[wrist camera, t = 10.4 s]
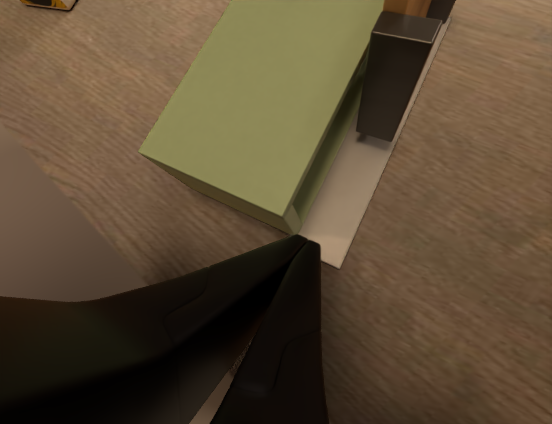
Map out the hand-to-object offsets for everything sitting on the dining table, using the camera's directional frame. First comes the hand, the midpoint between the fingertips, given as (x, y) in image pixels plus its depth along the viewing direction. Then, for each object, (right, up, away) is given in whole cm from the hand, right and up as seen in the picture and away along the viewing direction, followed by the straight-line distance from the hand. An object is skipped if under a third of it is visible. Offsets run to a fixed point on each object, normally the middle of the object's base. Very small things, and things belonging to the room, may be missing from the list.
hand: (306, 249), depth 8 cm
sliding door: (+6, +9, +7) cm, 13 cm away
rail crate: (+2, +8, +9) cm, 12 cm away
